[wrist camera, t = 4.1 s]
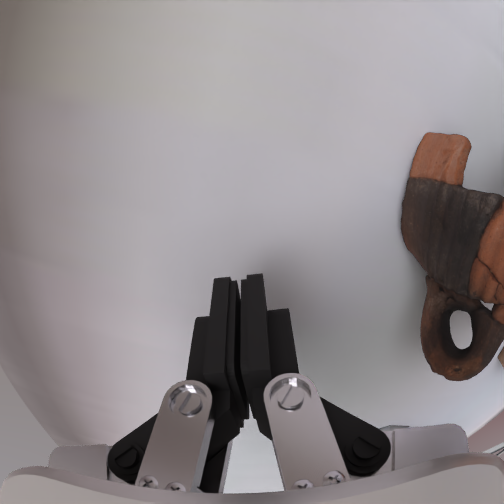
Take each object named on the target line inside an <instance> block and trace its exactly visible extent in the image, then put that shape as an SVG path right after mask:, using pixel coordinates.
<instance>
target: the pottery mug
mask: <svg viewBox="0 0 504 504" xmlns="http://www.w3.org/2000/svg"><path fill="white" fill-rule="evenodd" d="M470 150H471V143H470V141H469V140H468V138H466V137H465V136H462V135H457V134H452V135H447V134H441V133H430V132H429V133H426V134H425V135H424V137H423V139H422V141H421V142H420V144H419V146H418V148H417V152H416V154H415V157H414V159H413V164H412V168H411V171H410V177H409V179H408V181H407V186H406V191H405V197H404V200H403V202H402V218H401V230H402V234H403V239H404V242H405V245H406V247H407V249H408V250H409V251H410V252H411V253H412V254H413V255H414V256H415V258H416V259H417V260H418V262H419V263H420V265H421V266H422V267H423V269H424V270H425V271H426V272H427V274H428V275H427V276H426V284H427V295H426V300H425V304H424V308H423V312H422V319H421V344H422V349H423V353H424V355H425V358H426V360H427V362H428V363H429V364H430V367H431V370H432V371H433V372H434V373H437V374H439V375H443V376H444V377H445V378H446V379H448V380H452V381H463V380H468V379H470V378H472V377H474V376H475V375H477V374H478V373H480V372H481V371H482V370H483V369H484V368H485V367H486V366H487V365H488V364H489V363H490V361H491V360H492V358H493V357H494V355H495V353H496V352H497V350H498V348H499V346H500V345H501V343H502V342H503V340H504V197H502V196H501V195H499V194H495V193H485V192H480V191H476V190H468V189H465V188H464V187H462V184H463V177H464V170H465V167H466V163H467V159H468V155H469V152H470ZM480 300H481V301H483V302H484V303H493V304H494V305H493V308H492V311H491V310H489V309H488V308H486V307H485V306H484V305H483V304H482V303H481V301H480ZM457 310H461V311H465V312H467V313H468V314H469V315H470V317H471V324H472V332H473V336H472V342H471V344H470V346H469V347H468V348H465V349H459V348H457V347H456V346H455V344H454V342H453V340H452V337H451V333H450V316H451V314H452V313H453V312H454V311H457Z"/></svg>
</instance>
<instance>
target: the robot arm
mask: <svg viewBox="0 0 504 504" xmlns="http://www.w3.org/2000/svg"><path fill="white" fill-rule="evenodd" d="M249 404H250V407H251V411H252V414H253V418H254V419H256V420H257V424H258V428H259V431H260V432H261V433H262V434H263V435H265V436H266V437H267V438H269V439H270V440H272V443H273V447H274V451H275V455H276V459H277V463H278V467H279V471H280V475H281V479H282V483H283V487H284V491H280V492H266V493H242V494H223V490H224V485H225V480H226V475H227V469H228V464H229V459H230V454H231V448H232V439H234V438H235V437H236V436H237V435H238V434H239V433H240V428H244V419H249ZM0 504H504V461H503V460H502V459H501V458H500V457H498V456H496V455H493V454H490V453H482V452H469V449H468V441H467V436H466V433H465V431H464V430H463V429H462V428H461V427H460V426H458V425H456V424H442V425H434V426H424V427H413V428H398V429H394V431H381V430H380V429H378V428H376V427H374V426H372V425H370V424H368V423H367V422H365V421H363V420H361V419H359V418H357V417H355V416H353V415H352V414H350V413H348V412H346V411H344V410H343V409H341V408H339V407H337V406H335V405H334V404H332V403H330V402H328V401H327V400H325V399H323V398H321V397H320V396H319V394H318V391H317V389H316V386H315V385H314V383H313V381H311V380H310V379H309V378H308V377H306V376H304V375H301V374H299V370H298V364H297V357H296V351H295V345H294V338H293V332H292V326H291V320H290V314H289V309H288V308H287V309H278V310H269V311H267V305H266V297H265V289H264V281H263V274H253V275H247V279H245V280H241V299H240V294H239V289H238V284H237V281H231V278H230V277H225V278H215V279H214V284H213V292H212V300H211V308H210V316H206V317H197V318H196V320H195V325H194V331H193V337H192V343H191V350H190V356H189V363H188V370H187V377H186V380H185V381H181V382H178V383H177V384H175V385H173V386H172V387H171V388H170V389H169V390H168V391H167V392H166V394H165V396H164V398H163V401H162V404H161V407H160V410H159V413H157V414H156V415H155V416H153V417H152V418H150V419H149V420H148V421H146V422H145V423H144V424H142V425H141V426H139V427H138V428H137V429H135V430H134V431H132V432H131V433H130V434H128V435H127V436H125V437H124V438H122V439H121V440H119V441H118V442H117V443H116V444H114V445H113V446H108V445H107V444H98V445H76V446H59V447H57V448H55V449H54V450H53V451H52V453H51V454H50V457H49V466H48V467H42V466H32V467H25V468H21V469H18V470H15V471H13V472H11V473H10V474H9V475H8V476H7V477H6V479H5V481H4V482H3V484H2V487H1V490H0Z"/></svg>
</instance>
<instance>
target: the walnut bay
mask: <svg viewBox="0 0 504 504" xmlns="http://www.w3.org/2000/svg"><path fill="white" fill-rule="evenodd" d="M498 359H499V360H500V362H501V364H502V366H503V367H504V348H503V349H502V351H501V352H500V354H499V356H498Z"/></svg>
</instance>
